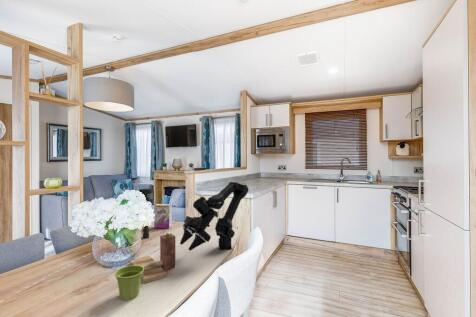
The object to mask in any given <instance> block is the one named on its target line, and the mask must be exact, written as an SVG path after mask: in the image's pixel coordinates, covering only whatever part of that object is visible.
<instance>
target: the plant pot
mask: <svg viewBox="0 0 476 317" xmlns="http://www.w3.org/2000/svg"><path fill="white" fill-rule="evenodd" d="M143 271H144V267H142V266H139V265H126V266H123V267H120V268H119V269H117V270H116V271H115V272H114V277H115V278H116V280H117V285H118V286H117V287H118V293H119V298H120V299H121V300H123V301H124V300H127V301H128V300H129V301H130V300H133V299H135V298H137V297H138V295H139V294H140V288H141V281H142V280H141V276H142V273H143Z"/></svg>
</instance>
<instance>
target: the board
mask: <svg viewBox="0 0 476 317" xmlns="http://www.w3.org/2000/svg"><path fill="white" fill-rule="evenodd" d="M154 262H156V260H155V259H154V258H153V257H151V255H147V256H143V257H139V258H134V259H131V260H129V266H131V265H139V266H143V265H146V264H150V263H154ZM167 274H168V272H167V270H166V271H165V270H164V269H163V268H162V267H160V266H157V267H153V268H150V269H146V270H144V271H143V273H142V276H141V281H142V283H143V284H146V283H150V282H153V281H156V280H160V279H163V278H165V277H167V276H168V275H167Z"/></svg>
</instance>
